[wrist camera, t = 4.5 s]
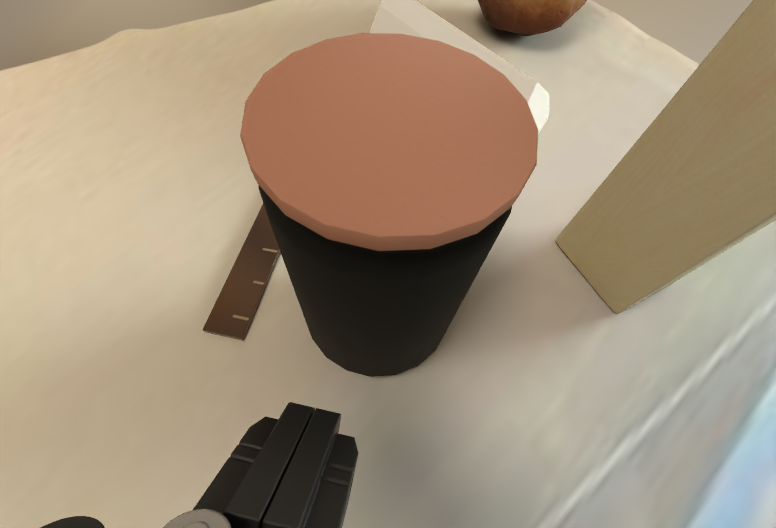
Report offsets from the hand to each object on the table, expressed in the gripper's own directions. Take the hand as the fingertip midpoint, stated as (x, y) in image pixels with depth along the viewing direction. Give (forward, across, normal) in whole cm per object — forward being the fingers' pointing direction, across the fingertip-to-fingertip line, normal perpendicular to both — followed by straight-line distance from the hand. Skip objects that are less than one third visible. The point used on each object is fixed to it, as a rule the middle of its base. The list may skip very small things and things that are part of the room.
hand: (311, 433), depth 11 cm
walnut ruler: (+20, +10, +1) cm, 23 cm away
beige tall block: (+25, -19, -3) cm, 31 cm away
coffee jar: (+18, 0, +4) cm, 19 cm away
